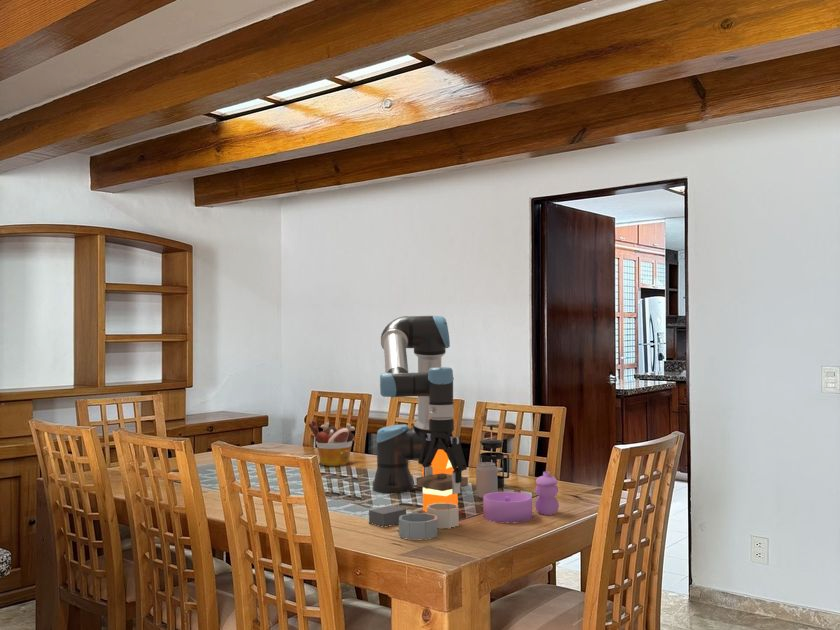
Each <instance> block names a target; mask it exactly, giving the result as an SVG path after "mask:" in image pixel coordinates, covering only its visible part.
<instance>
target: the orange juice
mask: <svg viewBox="0 0 840 630" xmlns="http://www.w3.org/2000/svg"><path fill="white" fill-rule="evenodd" d="M431 464H432V467H433V475H434V474H439V473H445V474H451V475H452V472H453V471H454V469H453V467H452V465H451V463H450V461H449V458H448V456H447V454H446V452H444V450H440V449H438V451H437V453H436V455H435V457H434V459H433V461H432V463H431ZM422 477H424V467H423V466H422ZM458 494H459V493H458ZM458 494H452V489H450V490H446V491H439V490H434V489H425V488H423V487H422V506H423V507H422V512H423V511H425V512H424V513H427V505H430V504H434V503H452V504H456V505H458V506H459V504H458V503H459V502H458V501H459V500H458Z"/></svg>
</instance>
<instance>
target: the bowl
mask: <svg viewBox="0 0 840 630" xmlns="http://www.w3.org/2000/svg"><path fill="white" fill-rule="evenodd" d="M426 513H429V514H433V515H437V528H450V529H452V528H451V527H454V528H456V527H455V526H458V527H460V525H459V523H460V521H459V504H458V505H456V504H452V503H434V504H430V505H427V512H426Z"/></svg>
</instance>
